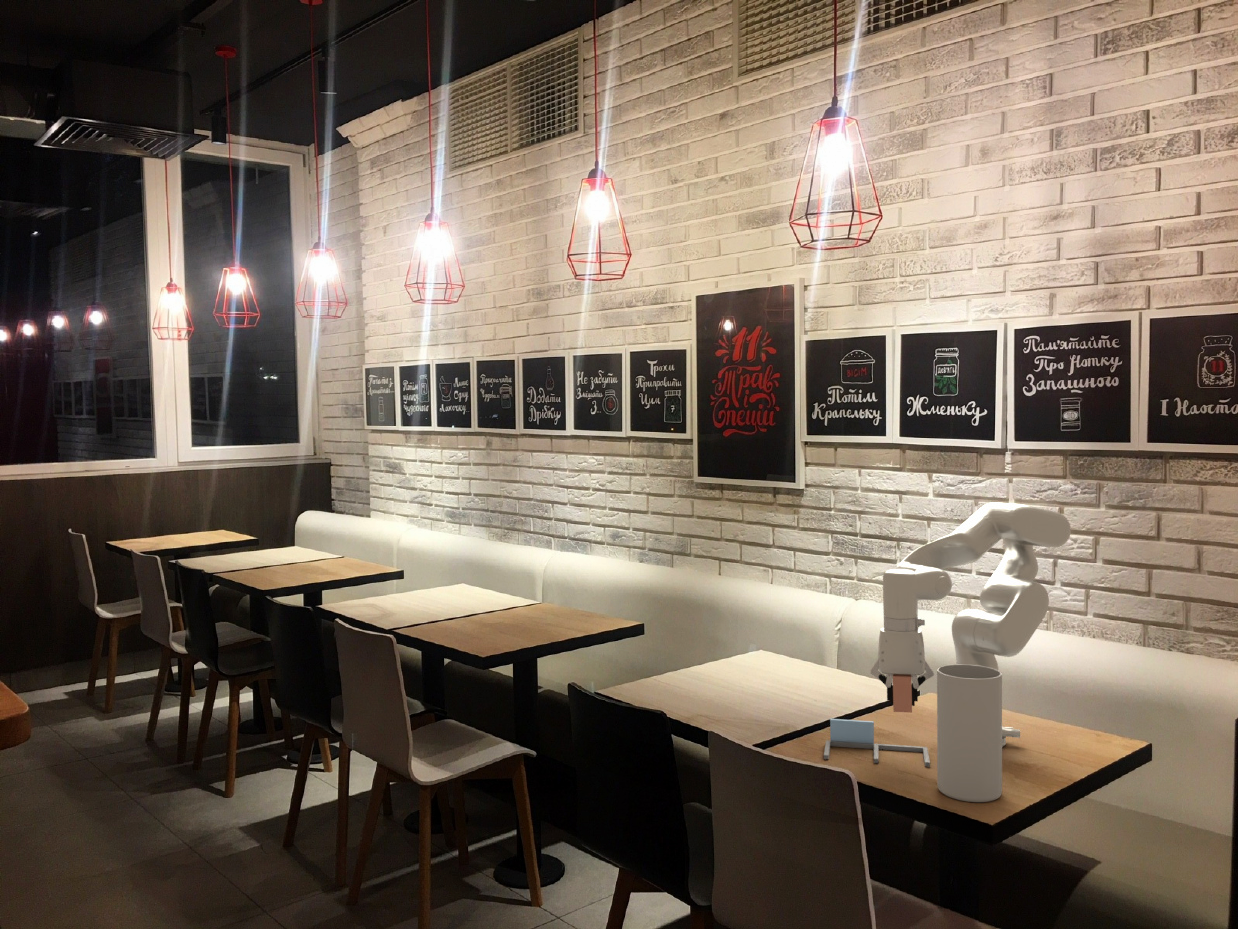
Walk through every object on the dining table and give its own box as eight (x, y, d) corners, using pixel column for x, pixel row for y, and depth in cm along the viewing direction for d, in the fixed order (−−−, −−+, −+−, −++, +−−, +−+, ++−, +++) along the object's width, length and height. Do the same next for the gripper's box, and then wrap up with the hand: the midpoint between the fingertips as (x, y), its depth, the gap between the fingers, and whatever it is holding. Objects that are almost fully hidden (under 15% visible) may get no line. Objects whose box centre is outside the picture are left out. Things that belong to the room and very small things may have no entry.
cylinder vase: (1012, 791, 199) (1012, 670, 198) (986, 808, 190) (985, 682, 190) (954, 777, 208) (953, 661, 207) (926, 793, 199) (926, 672, 198)
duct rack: (927, 750, 226) (926, 724, 226) (929, 767, 214) (929, 740, 214) (826, 743, 232) (826, 718, 231) (823, 759, 220) (823, 733, 220)
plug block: (911, 706, 223) (910, 671, 222) (912, 712, 218) (911, 677, 217) (893, 705, 224) (892, 671, 223) (893, 711, 219) (892, 676, 218)
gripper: (938, 621, 221) (939, 701, 222) (863, 620, 226) (864, 698, 226) (940, 628, 214) (942, 710, 215) (862, 626, 218) (864, 707, 219)
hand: (902, 703), depth 221 cm, fingers closed on plug block, 4 cm apart
